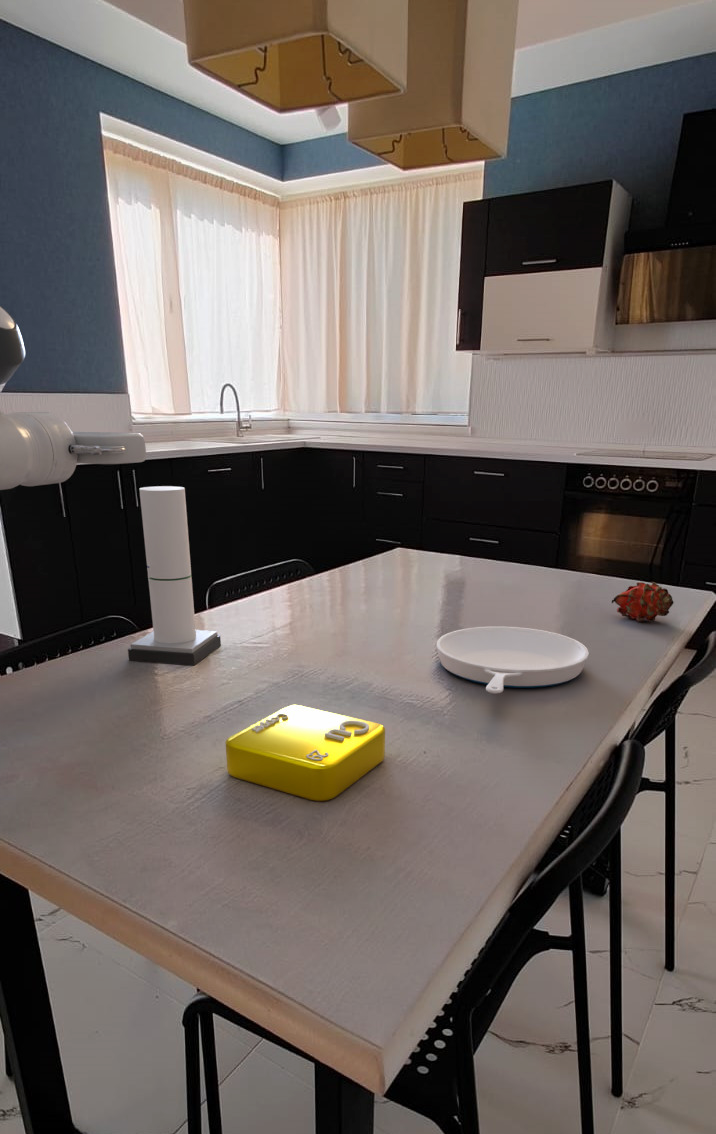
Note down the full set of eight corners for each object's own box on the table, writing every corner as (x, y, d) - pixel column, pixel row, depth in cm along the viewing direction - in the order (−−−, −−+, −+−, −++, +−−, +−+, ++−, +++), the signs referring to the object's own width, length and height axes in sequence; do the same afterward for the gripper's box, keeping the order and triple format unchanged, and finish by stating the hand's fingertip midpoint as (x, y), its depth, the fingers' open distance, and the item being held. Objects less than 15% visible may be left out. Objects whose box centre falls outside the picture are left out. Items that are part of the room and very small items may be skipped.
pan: (587, 652, 138) (590, 627, 136) (583, 731, 104) (587, 700, 103) (449, 640, 144) (450, 616, 142) (403, 711, 111) (404, 681, 109)
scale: (128, 660, 131) (126, 644, 130) (159, 641, 142) (158, 626, 141) (194, 665, 129) (193, 649, 128) (221, 645, 140) (220, 630, 139)
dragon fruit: (673, 631, 157) (612, 633, 162) (674, 600, 161) (614, 602, 166) (673, 603, 150) (609, 606, 155) (674, 571, 154) (612, 575, 159)
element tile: (292, 732, 103) (291, 698, 101) (390, 756, 96) (391, 721, 94) (220, 774, 91) (217, 737, 90) (326, 806, 84) (326, 766, 83)
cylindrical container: (190, 630, 139) (178, 485, 129) (200, 640, 133) (189, 489, 123) (150, 634, 136) (135, 487, 126) (159, 645, 130) (144, 491, 120)
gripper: (104, 423, 95) (168, 422, 107) (-23, 421, 102) (51, 419, 114) (110, 477, 98) (172, 469, 109) (-14, 471, 104) (57, 465, 116)
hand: (109, 444), depth 112 cm, fingers open, 8 cm apart
